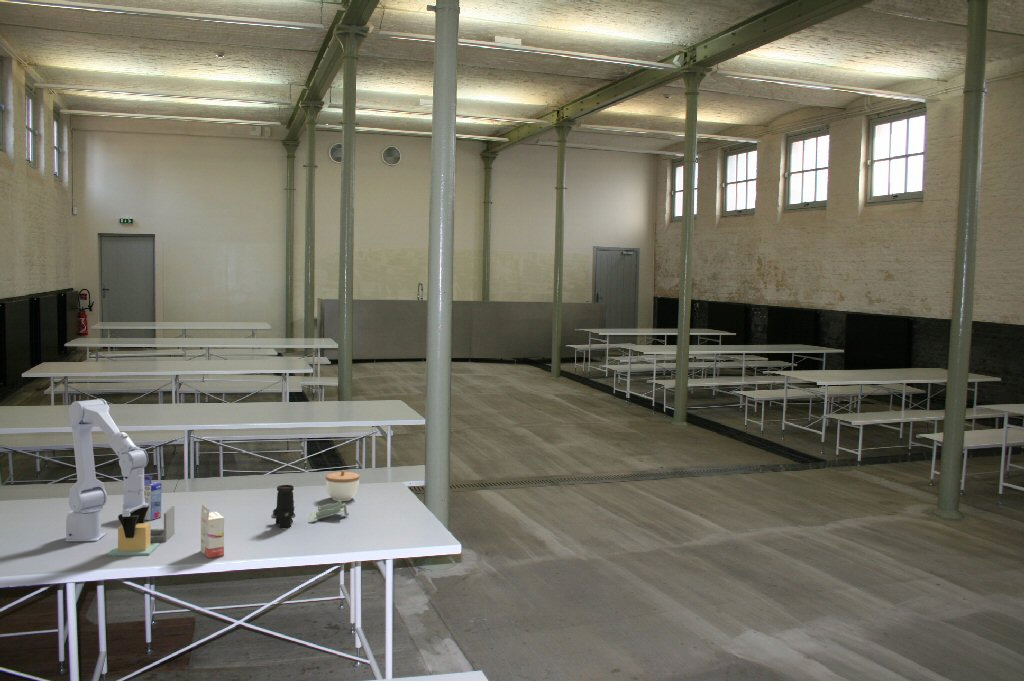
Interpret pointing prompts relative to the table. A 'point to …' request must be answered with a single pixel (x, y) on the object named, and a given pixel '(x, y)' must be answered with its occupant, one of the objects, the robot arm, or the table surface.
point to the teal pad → (138, 552)
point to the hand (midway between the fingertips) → (133, 534)
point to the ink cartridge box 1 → (152, 498)
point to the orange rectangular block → (135, 538)
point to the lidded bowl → (342, 485)
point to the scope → (284, 506)
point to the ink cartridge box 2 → (212, 533)
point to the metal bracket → (328, 511)
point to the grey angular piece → (168, 527)
